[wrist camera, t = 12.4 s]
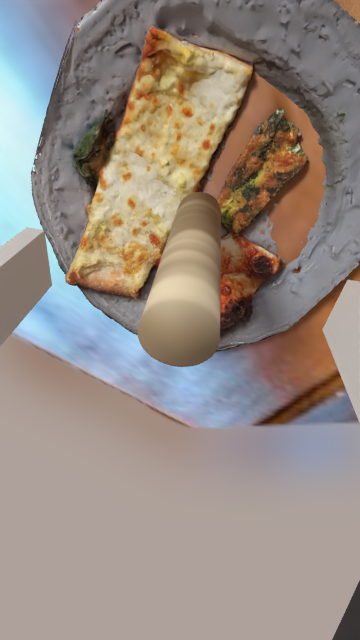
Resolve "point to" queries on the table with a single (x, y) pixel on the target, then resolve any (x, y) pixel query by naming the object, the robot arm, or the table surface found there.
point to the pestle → (186, 288)
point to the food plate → (199, 151)
